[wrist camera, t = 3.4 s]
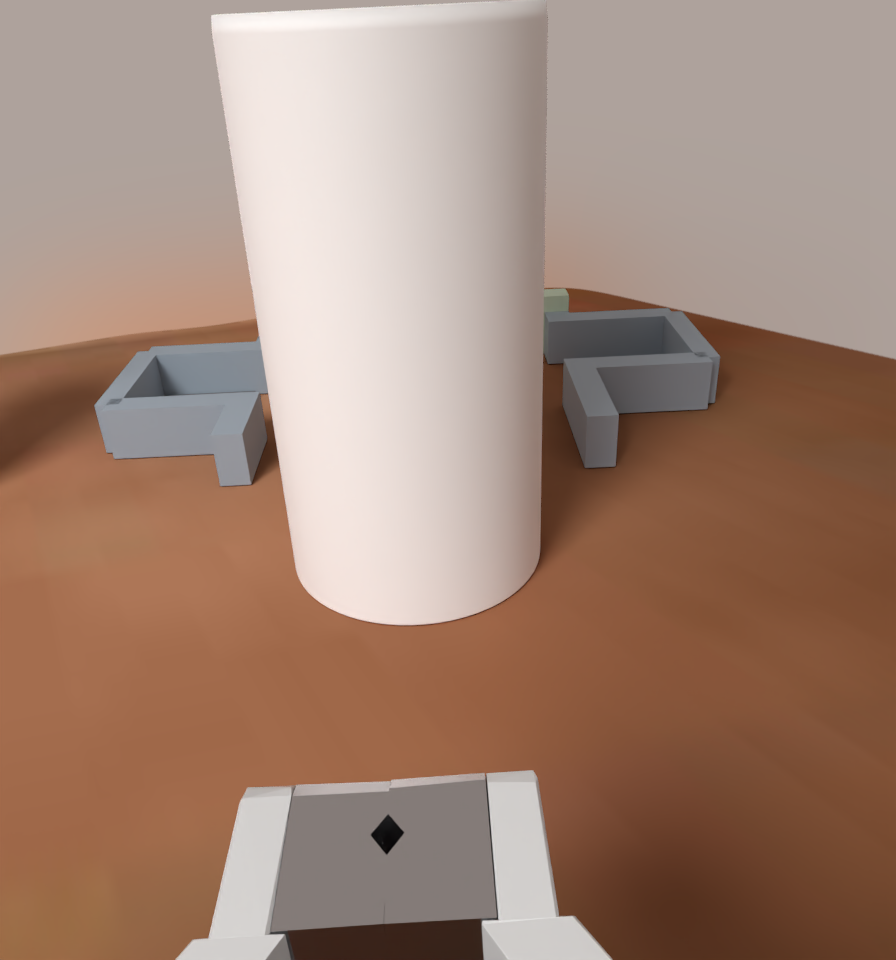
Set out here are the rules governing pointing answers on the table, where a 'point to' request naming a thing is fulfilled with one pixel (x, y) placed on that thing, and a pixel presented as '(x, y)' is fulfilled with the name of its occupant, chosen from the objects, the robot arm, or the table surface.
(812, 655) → the table surface
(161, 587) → the table surface
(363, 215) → the cup
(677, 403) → the box
